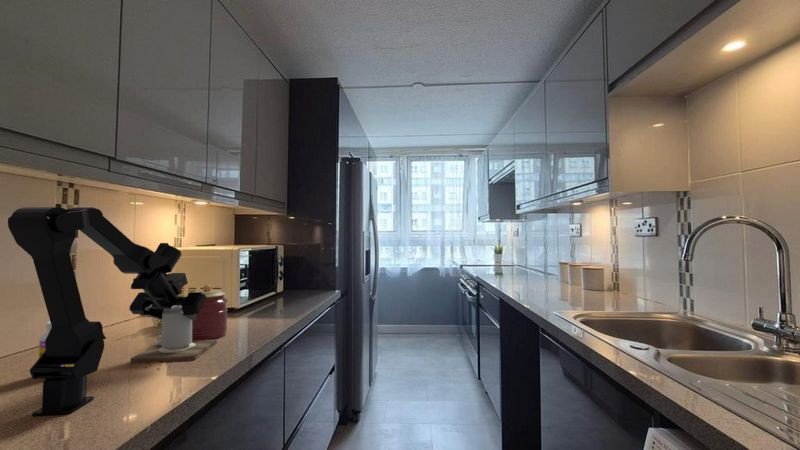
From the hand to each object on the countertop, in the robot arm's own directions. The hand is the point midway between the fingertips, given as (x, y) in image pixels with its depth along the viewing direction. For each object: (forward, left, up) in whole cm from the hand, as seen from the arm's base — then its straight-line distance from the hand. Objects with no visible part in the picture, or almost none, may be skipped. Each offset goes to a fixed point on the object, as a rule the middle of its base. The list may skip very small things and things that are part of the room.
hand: (181, 319), depth 104 cm
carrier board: (-1, 0, -9) cm, 9 cm away
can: (-1, 0, -8) cm, 8 cm away
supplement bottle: (-15, +21, -9) cm, 28 cm away
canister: (+17, -1, -9) cm, 19 cm away
